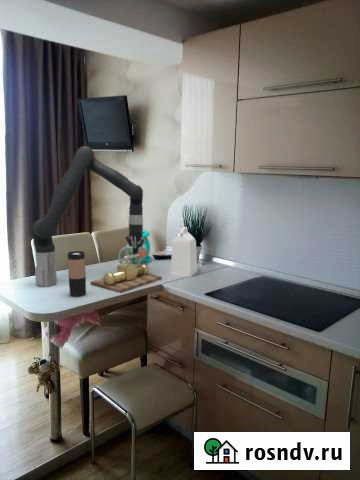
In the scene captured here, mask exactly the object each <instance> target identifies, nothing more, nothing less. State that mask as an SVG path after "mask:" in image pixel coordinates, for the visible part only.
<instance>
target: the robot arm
mask: <svg viewBox="0 0 360 480" xmlns="http://www.w3.org/2000/svg"><path fill="white" fill-rule="evenodd" d="M86 170H88V171H91V172H93V173H94V174H96V175H98V176H99V177H101V178H103V179H104V180H106V181H107V182H108V183H111V185H113V186H115V187H116V188H118V189H119V190H120V191H122V192H124V194H126V195H127V196H129V203H130V204H129V207H128V209H129V211H128V212H129V216H128V232H129V233H128V235H127V236H125V239H126V242H127V244H129V245H130V246H131V247H132V248H133V254H135V253H137V251H138V248H139V247H142V245H143V244H144V243H145V241H146V239H144V238H143V235H142V232H143V231H144V228H143V227H144V216H143V210H144V208H143V199H144V198H143V196H144V190H143V188H142V186H141V185H139V184H138V185H137V184H135V183H134V182H132V181H131V180H130V179H129V178H128V177H127V176H125V175H123V174H122V173H120V172H119V171H118V170H116V169H114V168H112V167H109V166H107V165H106V164H104V163H103V162H100V160H98V158H96V157H95V153H94V151H93V149H92V148H91V147H90V146H88V145H84V146H80V147H78V149H77V150H76V152H75V154H74V157H73V159H72V161H71V163H70V166H69V168H68V169H67V170H66V172H65V174H64V175H63V177H62V178H61V179H60V182H59V183H58V185H57V186H56V188H55V190H54V192H53V194H52V197H51V198H52V199H51V202H50V206H49V208H48V211H47V212H46V214H45V216H43V218H39V219H36V221H35V222H33V225H32V237H33V238H32V239H33V246H34V249H35V262H36V266H35V267H34V272H35V273H34V274H35V285H36V286H38V287H42V288H46V287H52V286H55V285H57V284H58V280H57V279H58V278H57V276H58V275H57V265H56V262H57V261H56V260H57V258H56V246H55V244H54V242H53V241H54V240H53V236H54V235H55V234H56V231H57V229H58V227H59V224H60V222H61V221H62V217H63V216H64V214H65V212H66V211H67V209H68V207H69V206H70V203H71V202H72V201H73V198H74V197H75V195H76V193H77V190H78V189H79V187H80V183H81V180H82V177H83V174H84V173H85V171H86Z"/></svg>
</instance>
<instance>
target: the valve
mask: <svg viewBox="0 0 360 480" xmlns="http://www.w3.org/2000/svg"><path fill="white" fill-rule="evenodd" d="M150 234H151V232H150V231H148V230H143V232H142V235H143V238H144V239H146V241H145V243H144V244H143V245H142V247H139V248H138V251H140V250H147V256H143V257H133V258H130V259H128V262H129V263H130V264H134V262H135V265H136V267H138V265H140V264H146V263H150V262H151V260H152V256H150V255H149V254H150V252H151V250H150V249H151V244H150V243H151V242H150V240H149V238H148V237H149V236H150ZM122 252H124V254H125V256H128V255H131V254H133V248H132V247H131V246H130V245H129V244H128V243H126V244H125V246H124V247H122V248H120V250H119V251H118V255H117V257H118V258H117V260H118V262H119V265H120V264H124V263H123V262H125V259H124V258H122V257H121V254H122Z"/></svg>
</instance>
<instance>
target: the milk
mask: <svg viewBox="0 0 360 480" xmlns="http://www.w3.org/2000/svg"><path fill="white" fill-rule="evenodd" d="M170 264H171V265H170V275H171V276H177V277H178V276H179V277H187V278H191V277H192V276H194V275H195V274H196V273H198V261H197V240H196V238H195V237H194V236H193V235H192V234H191V233H190V232H189V231H188V227H187V226H185V227H182V228H181V230H180V232H179V233H178V234H177V235H176V237H175V238H174V240H172V242H171V263H170Z"/></svg>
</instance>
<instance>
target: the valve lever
mask: <svg viewBox="0 0 360 480" xmlns="http://www.w3.org/2000/svg"><path fill="white" fill-rule="evenodd" d="M143 256H147V250H140V251H137V253H135V254H131V255H128V256H126V255H123V259H126V260H127V259H130V258H133V257H143Z"/></svg>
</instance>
